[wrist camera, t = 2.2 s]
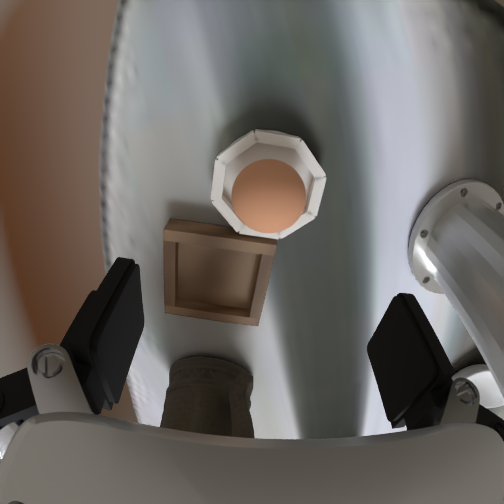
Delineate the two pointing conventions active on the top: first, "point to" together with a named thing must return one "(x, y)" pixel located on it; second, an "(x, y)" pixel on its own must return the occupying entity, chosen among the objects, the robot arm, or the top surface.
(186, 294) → the tray
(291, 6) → the top surface
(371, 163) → the top surface
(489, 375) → the spoon rest
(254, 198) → the ball
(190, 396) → the beer stein
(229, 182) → the octagonal white dish
